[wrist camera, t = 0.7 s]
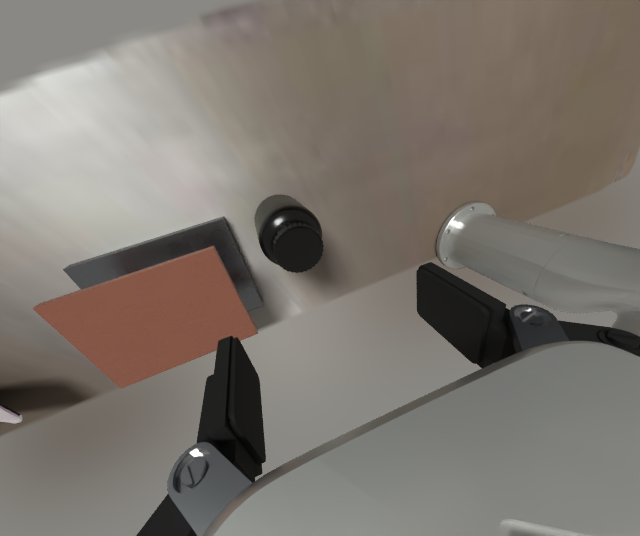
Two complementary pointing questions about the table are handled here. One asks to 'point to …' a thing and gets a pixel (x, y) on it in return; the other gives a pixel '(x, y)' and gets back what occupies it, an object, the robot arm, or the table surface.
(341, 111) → the table surface
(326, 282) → the table surface
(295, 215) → the supplement bottle
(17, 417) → the mobile phone
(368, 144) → the table surface
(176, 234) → the stand
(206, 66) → the table surface
